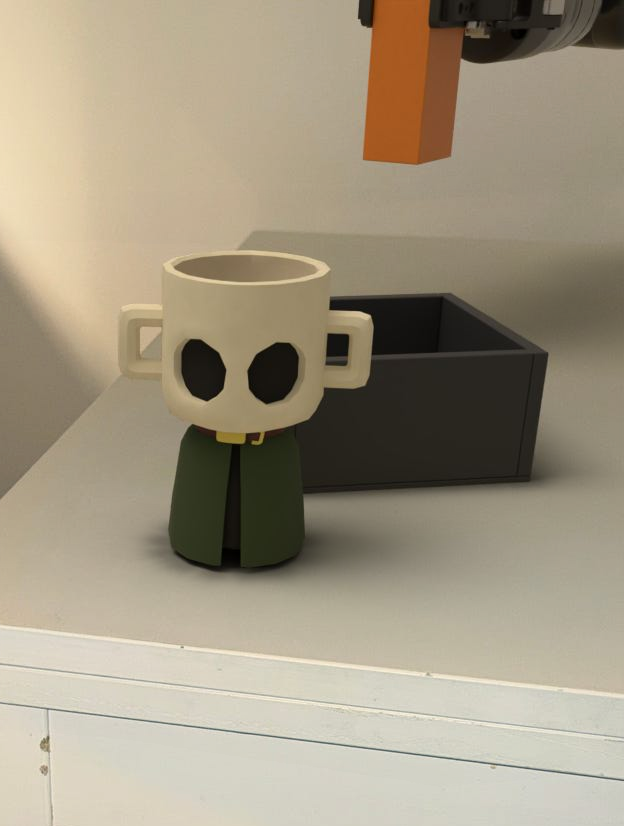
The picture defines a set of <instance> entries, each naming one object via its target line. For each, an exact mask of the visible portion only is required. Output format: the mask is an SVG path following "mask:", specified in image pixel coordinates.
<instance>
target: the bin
mask: <svg viewBox="0 0 624 826" xmlns="http://www.w3.org/2000/svg"><path fill="white" fill-rule="evenodd" d="M329 310H333V311H360V312H363V313H365V314H368V315H371V319H372V323H373V339H372V351H371V363H370V375H369V377H368V380H367V382H366V385H365V386H362V387H358V388H355V389H349V388H325V387H324V393H323V397H322V399H321V401H320V403H319V405H318V407H317V409H316V411H315V412H314V413H313V414H312V416H311V417H310V418H309V419H308V420H305V421H302V422H300V423H297V424H294V425H292V426H289V427H290V429H291V430H292V432H293V434H294V437H295V439H296V441H297V444H298V446H299V454H300V466H301V478H302V489H303V495H309V494H310V495H311V494H325V493H326V494H328V493H345V492H347V493H348V492H367V491H385V490H403V489H423V488H442V487H444V488H445V487H461V486H480V485H496V484H497V485H501V484H516V483H530V482H531V477H532V476H531V475H532V469H533V464H534V458H535V457H534V456H535V449H536V443H537V436H538V429H539V422H540V415H541V409H542V402H543V395H544V388H545V381H546V376H547V375H546V374H547V369H548V361H549V355H550V353H549V352H548V351H547V350H545V349H543V348H542V347H540V346H539V345H537V344H535V343H533V342H532V341H531V340H529V339H527V338H526V337H524V336H522V335H521V334H519V333H517V332H516V331H514V330H513V329H511V328H510V327H508V326H506V325H505V324H503V323H501V322H499V321H498V320H496V319H495V318H493V317H491V316H490V315H489V314H487V313H485V312H484V311H481V310H480V309H478V308H476V307H475V306H473V305H472V304H470V303H468V302H467V301H465V300H464V299H462V298H461V297H459V296H457V295H455V294H454V293H452V292H427V293H426V292H425V293H424V292H423V293H397V294H392V293H391V294H368V295H367V294H366V295H365V294H364V295H334V296H333V295H332V296H331V295H330V304H329ZM349 338H350V337H349V335H348V334H334V333H327V347H326V362H325V365H327V366H347V363H348V351H349Z"/></svg>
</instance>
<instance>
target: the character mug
mask: <svg viewBox="0 0 624 826" xmlns="http://www.w3.org/2000/svg"><path fill="white" fill-rule="evenodd" d="M161 271H162V273H161V304H159V303H156V304H155V303H154V304H153V303H128V304H125V305H122V306H121V307H120V310H119V313H118V316H117V366H118V369H119V372H120V374H121V376H122V377H124V378H127V379H129V380H135V381H140V380H141V381H157V382H158V381H159V382H160V390H161V394H162V396H163V400H164V402H165V405H166V408H167V409H168V413H169V414H170V415H173V416H174V417H176V418H178V419H180V420H181V421H182V422H185V423H189V424H190V425H189V426H188V427H187V429H186V430H185V432H184V434H183V436H182V439H181V440H180V444H179V451H178V457H177V463H176V470H175V475H174V483H173V487H172V493H171V502H170V511H169V520H168V529H167V532H168V539H169V543H170V548H172V549H174V550H175V551H176V552H177V553H179V554H180V555H182V557H185V558H186V559H188V560H190V561H194V562H199V563H202V564H205V565H209V566H221V565H222V563H221V562H222V552H223V549H228V550H240V567H241V568H249V569H250V568H256V567H263V566H271V565H276V564H279V563H281V562H283V561H286V560H288V559H290V558H292V557H294V556H297V555H298V553H299V551H300V549H301V547H302V545H303V543H304V541H305V539H306V527H305V526H306V525H305V500H304V494H303V489H302V478H301V466H300V454H299V446H298V444H297V441H296V439H295V437H294V434H293V432H292V430H291V429H290V427H289V426H292V425H294V424H297V423H300V422H302V421H305V420H308V419H309V418H310V417H311V416H312V414H313V413H314V412H315V411H316V409H317V407H318V405H319V403H320V401H321V399H322V397H323V393H324V387H325V388H349V389H355V388H358V387H362V386H365V385H366V382H367V380H368V377H369V375H370V363H371V351H372V339H373V323H372V319H371V315H368V314H365V313H363V312H360V311H333V310H329V304H330V296H331V288H332V269H331V268H330V267H329V266H328V264H326V262H324V261H321V260H317V259H314V258H313V257H310V256H309V257H308V256H305V255H304V256H303V255H298V254H292V253H286V252H279V251H265V250H253V249H250V250H249V249H248V250H247V249H246V250H245V249H244V250H243V249H242V250H217V251H215V250H214V251H206V252H194V253H190V254H185V255H181V256H176V257H173V258H171V259H169V260H167V261H166V262H164V263H163V264H162V270H161ZM143 327H147V328H161V347H160V348H161V353H160V354H161V358H153V357H151V358H147V357H142V356H141V328H143ZM327 333H334V334H348V335H349V337H350V338H349V351H348V363H347V366H327V365H325V362H326V347H327Z"/></svg>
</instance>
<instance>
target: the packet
mask: <svg viewBox="0 0 624 826" xmlns="http://www.w3.org/2000/svg"><path fill="white" fill-rule="evenodd" d="M429 8H430V0H374V10H373V24H372V28H371V39H370V50H369V51H370V52H369V65H368V67H369V68H368V81H367V93H366V107H365V120H364V133H363V134H364V136H363V149H362V161H367V162H379V163H391V164H402V165H413V166H419V165H423V164H428V163H431V162H435V161H439V160H444V159H447V158H448V159H449V158H451V156H452V149H453V140H454V131H455V130H454V129H455V122H456V121H455V120H456V112H457V103H458V92H459V81H460V71H461V62H462V61H461V60H462V59H461V53H462V43H463V33H464V29H461V27H457V28H444V29H436V28H430V27H429V24H428V19H429Z"/></svg>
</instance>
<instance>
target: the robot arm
mask: <svg viewBox="0 0 624 826" xmlns="http://www.w3.org/2000/svg"><path fill="white" fill-rule="evenodd" d="M373 10H374V0H358V9H357V20H359V21H360V25H361V26H362V27H364V28H365V27H366V29H372V24H373ZM428 24H429V27H430V28H436V29H444V28H457V27H461V29H464V33H463V43H462V53H461V60H463V61H465V62H469V63H472V64H479V65H486V64H493V63H494V64H495V63H502V62H510V61H518V60H525V59H528V58H533V57H535V56H538V55H540V54H544V53H553V52H557V51H559V50H560V51H561V50H563V49H566V48H569V47H577V48H588V49H589V48H590V49H601V50H613V51H614V50H615V51H622V50H623V51H624V0H430V8H429V19H428Z"/></svg>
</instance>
